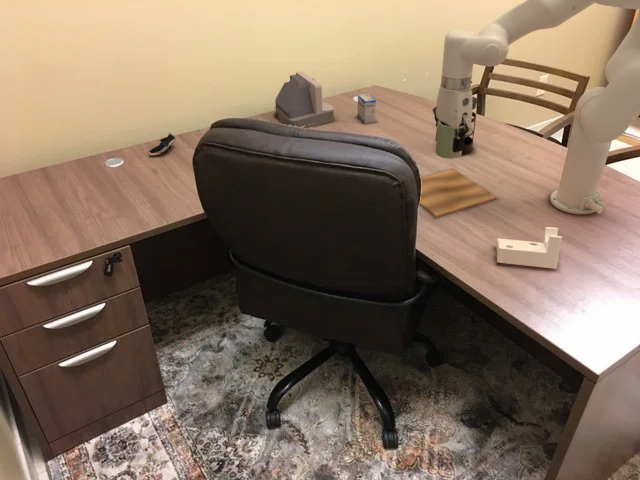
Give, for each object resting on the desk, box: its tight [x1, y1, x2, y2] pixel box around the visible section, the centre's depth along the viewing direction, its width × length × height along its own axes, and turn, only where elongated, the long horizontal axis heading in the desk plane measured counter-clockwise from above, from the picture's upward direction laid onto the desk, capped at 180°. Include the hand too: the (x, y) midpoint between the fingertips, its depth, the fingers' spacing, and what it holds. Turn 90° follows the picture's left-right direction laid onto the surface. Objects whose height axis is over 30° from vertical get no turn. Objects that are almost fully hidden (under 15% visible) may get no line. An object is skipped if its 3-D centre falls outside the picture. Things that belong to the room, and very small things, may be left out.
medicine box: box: [357, 93, 377, 124], centre depth 200 cm, size 8×4×9 cm, turn 17°
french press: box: [461, 80, 479, 156], centre depth 172 cm, size 12×9×23 cm
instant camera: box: [274, 71, 335, 129], centre depth 203 cm, size 21×21×15 cm
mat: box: [419, 168, 497, 218], centre depth 155 cm, size 20×20×1 cm
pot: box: [435, 120, 462, 159], centre depth 145 cm, size 7×7×9 cm
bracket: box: [495, 226, 563, 270], centre depth 125 cm, size 13×7×8 cm, turn 76°
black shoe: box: [148, 132, 177, 157], centre depth 187 cm, size 11×4×7 cm
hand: (449, 145), depth 146 cm, fingers closed on pot, 7 cm apart
